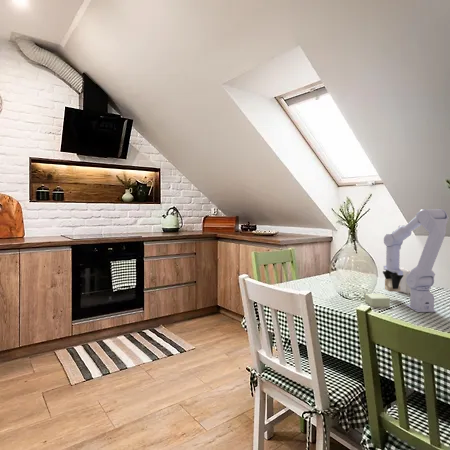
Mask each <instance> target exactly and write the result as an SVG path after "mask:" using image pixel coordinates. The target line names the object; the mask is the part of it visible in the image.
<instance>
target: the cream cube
mask: <svg viewBox="0 0 450 450" xmlns="http://www.w3.org/2000/svg"><path fill="white" fill-rule="evenodd" d="M384 290H386V291H387V292H389V293H390V292H391V293H392V292H393V293H394V292H400V283H399V287H398V289H393V286H392V279H385V278H384Z"/></svg>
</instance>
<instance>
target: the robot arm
mask: <svg viewBox="0 0 450 450" xmlns="http://www.w3.org/2000/svg"><path fill="white" fill-rule="evenodd" d="M449 219H450V218H449V215H448V213H447V211H446V210H445V209H443V208H433V209H432V208H427V209H426V208H423V209H420V210H419V211H417V212H416V214H415V216H414V217H413V218H412V219H411V220H410V221H409V222H408V223H407V224H404V225H399V226H398V227H397V229H395V230H393V231H392V232H391V233H386V234H385V235H384V237H383V243H384V245H385V246H386V247H385V248H386V250H385V251H386V252H385V254H386V258H385V259H386V260H385V262H386V263H385V265H383V271H382V274H383V276H384V280H385V279H392V286H393V289H398V287H399V283H400V281H401V279H402V277H403V271H401V270H400V268H399V267H400V258H401V257H400V252H401V249H402V245H403V242H404V241H405V240H406V239H407V238H409V237H410V236H411V235H412V231H414V230H416V229H417V228H419V227H421V226H422V228H424V230H425V231H426V232H428V236H427V239H426V242H425V244H424V247H423V249H422V251H421V255H420V258H419V260H418V263H417V266H415V267H413V268H412V269H411V270H410V274H409V275H408V276H407V278H406V281H407V284H408V286H409V288H411V293H409V294H410V298H409V299H410V301H409V303H410V304H405V306H406V307H408V308H409V309H411V310H413V311H415V312H416V313H436V312H437V311H436V309H435V297H434V294H433V293H432V292H431V291H430V290H431V289H432V286H434V283H435V276H436V273H435V272H434V271H433V267H434V264H435V262H436V259H437V257H438V254H439V253H440V250H441V247H442V244H443V243H444V242H443V241H444V239H445V237H446V234H447V224H448V222H449Z"/></svg>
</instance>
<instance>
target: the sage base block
mask: <svg viewBox="0 0 450 450" xmlns="http://www.w3.org/2000/svg"><path fill="white" fill-rule="evenodd" d="M364 299H365V303H366V304H367V305H368V306H370V307H371V308H372V307H375V308H376V307H379V308H380V307H390V308H391V305H390V304H391V300H390V299H391V298H390V297H388V296H387V295H385V294H384V293H365V296H364Z"/></svg>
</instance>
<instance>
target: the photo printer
mask: <svg viewBox="0 0 450 450" xmlns="http://www.w3.org/2000/svg"><path fill="white" fill-rule="evenodd" d="M399 268H400V270H401V271H403V277H402V279H401V281H400V291H399V292H401V293H404V294H411V288H409V286H408V284H407V281H406V278H407V276H408V275H409V274H410V272H411V270H409V269H407V268H405V267H402V266H401V267H400V266H399Z"/></svg>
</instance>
